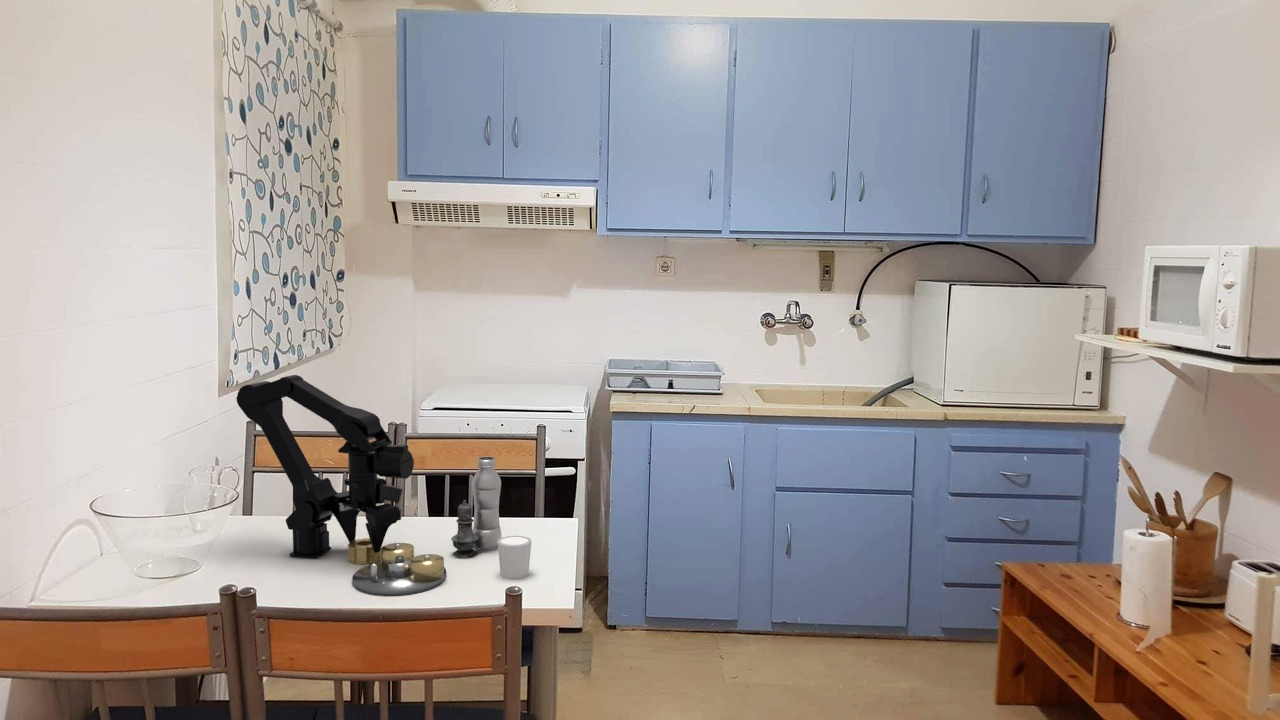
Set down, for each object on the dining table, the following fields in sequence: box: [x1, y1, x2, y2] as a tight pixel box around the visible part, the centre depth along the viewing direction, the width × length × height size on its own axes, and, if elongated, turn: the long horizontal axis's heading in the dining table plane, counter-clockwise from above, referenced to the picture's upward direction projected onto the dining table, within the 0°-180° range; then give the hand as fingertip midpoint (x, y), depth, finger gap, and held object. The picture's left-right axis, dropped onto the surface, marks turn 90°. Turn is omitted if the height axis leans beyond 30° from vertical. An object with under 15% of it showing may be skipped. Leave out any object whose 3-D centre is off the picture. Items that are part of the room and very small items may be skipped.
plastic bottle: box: [471, 455, 503, 550], centre depth 206 cm, size 6×7×20 cm
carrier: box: [352, 542, 447, 597], centre depth 187 cm, size 18×18×5 cm
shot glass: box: [497, 535, 532, 580], centre depth 191 cm, size 7×7×7 cm
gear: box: [347, 538, 382, 566], centre depth 198 cm, size 6×6×4 cm
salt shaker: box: [450, 499, 479, 559], centre depth 202 cm, size 6×6×12 cm
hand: (364, 547), depth 198 cm, fingers open, 9 cm apart
